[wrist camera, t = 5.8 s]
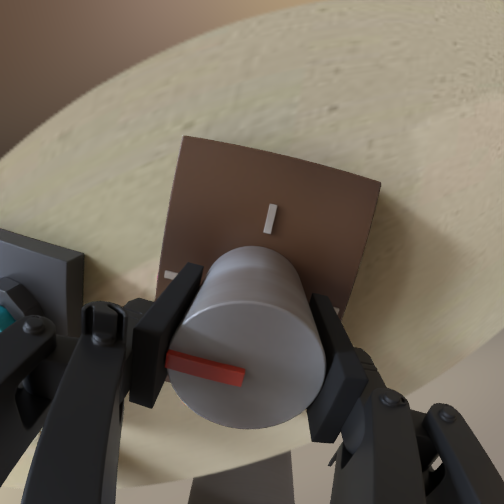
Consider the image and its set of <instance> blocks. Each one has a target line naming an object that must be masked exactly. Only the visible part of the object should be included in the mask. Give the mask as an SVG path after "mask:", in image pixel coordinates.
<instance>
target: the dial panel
mask: <svg viewBox="0 0 504 504" xmlns="http://www.w3.org/2000/svg"><path fill="white" fill-rule="evenodd" d="M380 187H381V182H379V181H376V180H372V179H369V178H366V177H363V176H359V175H356V174H353V173H349V172H346V171H342V170H339V169H335V168H332V167H328V166H324V165H321V164H317V163H313V162H309V161H305V160H301V159H297V158H293V157H289V156H285V155H281V154H276V153H272V152H268V151H263V150H259V149H254V148H249V147H245V146H240V145H235V144H230V143H224V142H219V141H214V140H208V139H202V138H197V137H191V136H183V138H182V142H181V147H180V151H179V156H178V161H177V165H176V170H175V175H174V180H173V186H172V191H171V196H170V202H169V207H168V213H167V219H166V225H165V231H164V237H163V244H162V251H161V258H160V265H159V272H158V280H157V288H156V296H155V301H156V300H157V298H158V297H159V296H160V295H161V294H162V292H163V291H164V290H165V289H166V287H167V286H168V285H169V284H170V283H171V281H172V280H173V279H174V278H175V277H176V275H177V274H178V273H179V272H180V271H181V270H182V268H183V267H184V266H185V265H186V264H187V262H190V263H194V264H198V265H201V266H204V268H203V273H202V278H201V283H202V282H203V280H204V278H205V276H206V274H207V273H208V271H209V269H210V268H211V266H212V265H213V264H214V262H215V261H216V260H217V259H218V258H220V257H221V256H222V255H224V254H225V253H227V252H229V251H231V250H233V249H236V248H240V247H244V246H260V247H265V248H268V249H271V250H274V251H276V252H278V253H279V254H281V255H282V256H284V257H285V258H286V259H287V260H288V261H289V262H290V263H291V264H292V265H293V266H294V268H295V269H296V271H297V273H298V275H299V278H300V280H301V283H302V286H303V289H304V292H305V295H306V298H307V301H308V304H309V302H310V299H311V296H312V293H316V294H321V295H325V296H328V297H329V299H330V301H331V303H332V305H333V307H334V309H335V311H336V313H337V315H338V317H339V319H340V321H341V320H342V317H343V315H344V312H345V309H346V306H347V303H348V300H349V297H350V294H351V291H352V288H353V285H354V282H355V278H356V275H357V272H358V269H359V265H360V262H361V259H362V255H363V252H364V249H365V245H366V242H367V238H368V234H369V231H370V227H371V223H372V220H373V216H374V212H375V208H376V204H377V200H378V196H379V192H380ZM201 283H200V285H201ZM165 381H166V382H170V380H169V376H168V375H167V377H166V379H165ZM170 383H171V382H170Z"/></svg>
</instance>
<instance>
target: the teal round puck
mask: <svg viewBox="0 0 504 504" xmlns="http://www.w3.org/2000/svg"><path fill="white" fill-rule="evenodd" d="M14 322H16V320H15V319H14V318H13V317H12V315H11V314H10V313H9V312H8V311H7V310H6V308H4V307H3V306H0V332H2V331H3V330H5V329H6V328H7V327H9V326H10V325H11V324H13V323H14Z"/></svg>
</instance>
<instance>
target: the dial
mask: <svg viewBox="0 0 504 504" xmlns="http://www.w3.org/2000/svg"><path fill="white" fill-rule="evenodd" d="M164 367H165V368H167V372H168V376H169V380H170V382H171V384H172V387H173V389H174V390H175V392H176V394H177V395H178V396H179V398H180V399H181V400H182V401H183V402H184V403H185V404H186V405H187V406H188V407H189V408H190V409H191V410H193V411H194V412H195V413H197V414H198V415H200V416H201V417H203V418H205V419H207V420H209V421H211V422H214V423H217V424H219V425H223V426H227V427H231V428H238V429H260V428H267V427H271V426H275V425H278V424H281V423H284V422H286V421H288V420H290V419H292V418H294V417H296V416H297V415H299V414H300V413H301V412H303V411H304V410H305V409H306V408H307V407H308V406H309V405H310V404H311V403H312V402H313V401H314V400H315V398H316V397H317V395H318V394H319V392H320V390H321V388H322V385H323V383H324V380H325V375H326V356H325V352H324V349H323V346H322V343H321V340H320V337H319V334H318V330H317V327H316V324H315V321H314V318H313V316H312V313H311V310H310V307H309V304H308V301H307V298H306V295H305V292H304V289H303V286H302V283H301V280H300V278H299V275H298V273H297V271H296V269H295V268H294V266H293V265H292V264H291V263H290V262H289V261H288V260H287V259H286V258H285V257H284V256H282V255H281V254H279V253H278V252H276V251H274V250H271V249H268V248H265V247H260V246H244V247H240V248H236V249H233V250H231V251H229V252H227V253H225V254H224V255H222V256H221V257H220V258H218V259H217V260H216V261H215V262H214V264H213V265H212V266H211V268H210V269H209V271H208V273H207V274H206V276H205V278H204V280H203V282H202V283H201V285H200V287H199V289H198V291H197V292H196V294H195V296H194V298H193V300H192V301H191V303H190V305H189V307H188V309H187V311H186V312H185V314H184V316H183V318H182V320H181V322H180V323H179V325H178V327H177V329H176V331H175V333H174V334H173V336H172V338H171V341H170V343H169V346H168V350H167V353H166V358H165V366H164Z"/></svg>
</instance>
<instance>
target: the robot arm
mask: <svg viewBox="0 0 504 504" xmlns="http://www.w3.org/2000/svg"><path fill="white" fill-rule="evenodd" d="M203 268H204V266H201V265H198V264H194V263H190V262H187V264H186V265H185V266H184V267H183V268H182V270H181V271H180V272H179V273H178V274H177V275H176V277H175V278H174V279H173V280H172V281H171V283H170V284H169V285H168V286H167V287H166V289H165V290H164V291H163V292H162V294H161V295H160V296H159V297H158V298H157V300H156V301H155V302H152V301H148V300H145V299H142V298H137V299H134V300H131V301H129V302H128V303H127V304H126V305H125V306H124V307H121V306H119V305H118V304H114V303H111V302H105V301H96V302H90V303H88V304H85V305H84V306H83V307H82V308H81V336H80V338H76V337H68V336H63V335H57V334H56V326H55V324H54V323H53V321H51V320H50V319H48V318H46V317H42V316H39V315H36V316H35V315H31V316H25V317H23V318H20V319H18V320H17V321H16V322H14V323H13V324H11V325H10V326H9V327H7V328H6V329H5V330H3V331H2V332H0V487H1V486H2V484H3V483H4V481H5V480H6V478H7V477H8V475H9V474H10V472H11V471H12V469H13V468H14V466H15V465H16V464H17V462H18V461H19V459H20V458H21V456H22V455H23V454H24V452H25V451H26V449H27V448H28V447H29V445H30V444H31V442H32V441H33V440H34V438H35V437H36V435H37V434H38V433H39V431H40V430H41V429H42V427H43V429H42V432H41V435H40V438H39V441H38V444H37V447H36V450H35V453H34V456H33V460H32V463H31V466H30V470H29V473H28V477H27V481H26V484H25V488H24V492H23V496H22V501H21V504H115V498H116V497H115V496H116V482H117V469H118V458H119V447H120V438H121V429H122V421H123V414H124V398H125V397H126V395H127V393H128V391H129V401H130V402H133V403H136V404H139V405H142V406H145V407H148V408H151V409H152V408H153V406H154V404H155V401H156V399H157V397H158V395H159V393H160V390H161V388H162V386H163V384H164V381H165V379H166V377H167V375H168V372H167V368H165V367H164V366H165V358H166V353H167V350H168V346H169V343H170V341H171V338H172V336H173V334H174V333H175V331H176V329H177V327H178V325H179V323H180V322H181V320H182V318H183V316H184V314H185V312H186V311H187V309H188V307H189V305H190V303H191V301H192V300H193V298H194V296H195V294H196V292H197V291H198V289H199V287H200V283H201V278H202V273H203ZM309 307H310V310H311V313H312V316H313V318H314V321H315V324H316V327H317V330H318V334H319V337H320V340H321V343H322V346H323V349H324V352H325V356H326V375H325V380H324V383H323V385H322V388H321V390H320V392H319V394H318V395H317V397H316V398H315V400H314V401H313V402H312V403H311V404H310V405H309V406H308V407H307V408H306V409H307V415H308V421H309V428H310V434H311V440H312V442H320V443H334V442H335V440H336V439H337V437H338V435H339V433H340V432H341V434H342V438H343V442H342V444H341V445H340V447H339V448H338V450H337V451H336V453H335V454H334V456H333V457H332V459H331V460H330V462H329V464H328V466H332V464H333V463H334V461H336V465H335V473H334V481H333V488H332V494H331V500H330V504H504V482H503V480H502V478H501V476H500V475H499V473H498V471H497V470H496V468H495V466H494V465H493V463H492V461H491V460H490V458H489V457H488V455H487V453H486V452H485V450H484V449H483V447H482V446H481V444H480V442H479V441H478V439H477V438H476V436H475V435H474V434H473V432H472V430H471V429H470V427H469V426H468V424H467V423H466V421H465V420H464V418H463V417H462V415H461V414H460V413H459V412H458V411H457V410H456V409H454V408H453V407H452V406H450V405H448V404H442V403H436V404H434V405H433V406H431V408H430V409H429V411H428V412H427V414H426V413H422V412H418V411H415V410H411V409H410V407H409V403H408V401H407V399H406V398H405V397H404V396H403V395H402V394H400V393H398V392H397V391H395V390H392V389H389V388H387V387H386V385H385V383H384V382H383V380H382V378H381V376H380V374H379V372H377V368H376V367H375V365H374V363H373V361H372V359H371V357H370V356H369V355H368V354H367V353H366V352H365V351H364V350H363V349H361V348H355V347H353V345H352V343H351V341H350V339H349V337H348V335H347V333H346V331H345V329H344V327H343V325H342V323H341V321H340V319H339V317H338V315H337V313H336V311H335V309H334V307H333V305H332V303H331V301H330V299H329V297H328V296H325V295H321V294H316V293H312V296H311V299H310V302H309ZM438 456H440V458H441V460H442V462H443V463H442V464H441V465H440V466H439V467H438V468H437V469H436V470H433V468H432V466H431V465H432V464H433V462H434V461H435V460H436V459H437V458H438Z"/></svg>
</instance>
